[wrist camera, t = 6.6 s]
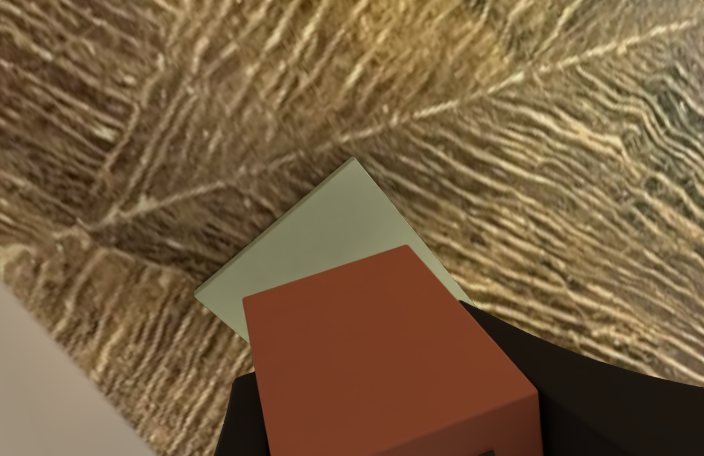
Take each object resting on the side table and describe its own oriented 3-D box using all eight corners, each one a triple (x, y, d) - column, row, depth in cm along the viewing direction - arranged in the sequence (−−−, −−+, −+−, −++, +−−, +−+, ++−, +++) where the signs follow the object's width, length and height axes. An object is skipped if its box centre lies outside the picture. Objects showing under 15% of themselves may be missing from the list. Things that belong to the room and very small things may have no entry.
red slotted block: (432, 374, 15) (557, 565, 10) (287, 428, 14) (341, 660, 9) (407, 242, 13) (542, 392, 8) (241, 296, 13) (277, 494, 8)
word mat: (511, 564, 29) (515, 571, 29) (193, 291, 19) (193, 296, 19) (616, 479, 29) (621, 485, 29) (352, 155, 19) (355, 158, 18)
